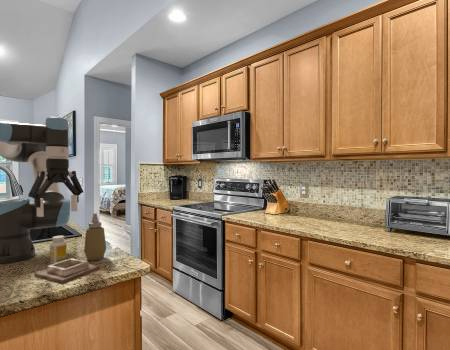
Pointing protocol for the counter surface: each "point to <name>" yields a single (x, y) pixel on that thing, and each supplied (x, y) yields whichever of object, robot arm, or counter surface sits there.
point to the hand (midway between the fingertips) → (58, 213)
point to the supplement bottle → (57, 249)
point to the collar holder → (67, 270)
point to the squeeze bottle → (95, 240)
